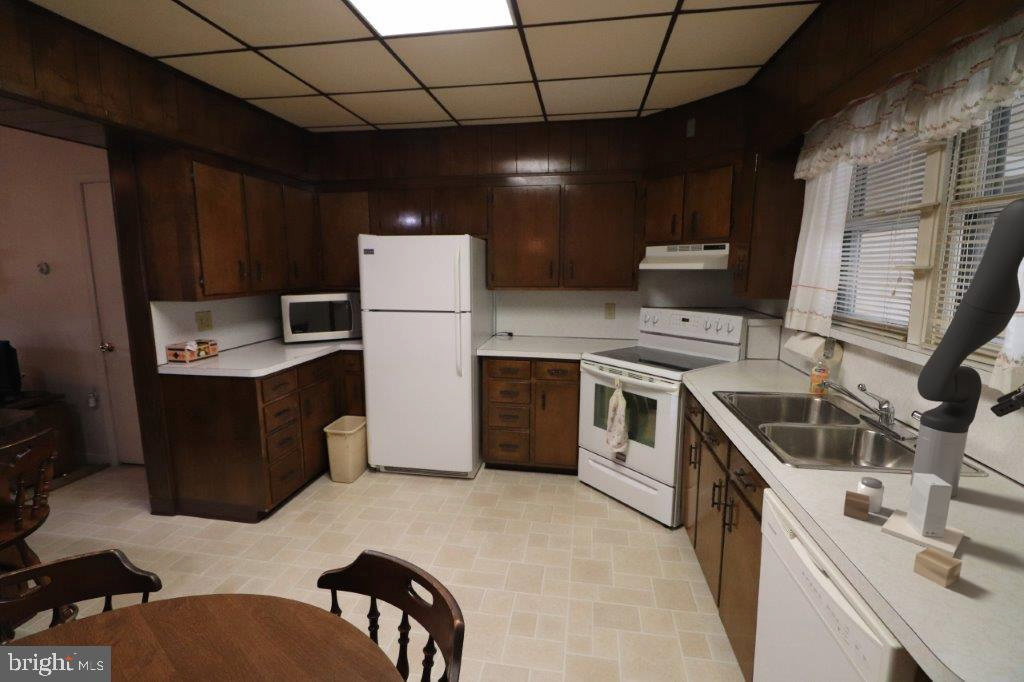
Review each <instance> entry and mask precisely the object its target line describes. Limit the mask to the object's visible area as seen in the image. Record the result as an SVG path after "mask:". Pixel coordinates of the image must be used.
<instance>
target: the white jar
mask: <svg viewBox="0 0 1024 682" xmlns="http://www.w3.org/2000/svg"><path fill="white" fill-rule="evenodd" d="M856 493H859V494H863V495H868V496H869V502H870V504H869V511H868V513H873V514H878V513H881V511H882V505H883V499H884V493H885V486H884V485H883V481H882V480H879V479H878V478H875V477H869V476H864V477H863V476H862V477H861V479H860V480H859V481H858V485H857V491H856Z"/></svg>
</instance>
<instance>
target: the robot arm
mask: <svg viewBox="0 0 1024 682" xmlns="http://www.w3.org/2000/svg"><path fill="white" fill-rule="evenodd" d="M1023 260H1024V197H1022V198H1017V199H1015V200H1013V201H1010V202H1009V203H1008V204H1007V205H1005V206H1004V208H1003V209H1002V210H1001V211H1000V212H999V214H998V215H997V217H996V219H995V222H994V225H993V227H992V230H991V232H990V235H989V238H988V241H987V244H986V247H985V249H984V252H983V255H982V257H981V260H980V261H979V262H980V263H979V265H978V267H977V268H976V271H975V273H974V275H973V278H972V279H971V282H970V284H969V286H968V287H967V289H966V291H965V293H964V295H963V297H962V299H961V300H960V302H959V304H958V306H957V309H955V310H956V311H955V313H954V314H953V318H952V319H951V321H950V323H949V325H948V327H947V329H946V331H945V332H944V334H943V336H942V338H941V340H940V342H939V344H938V345H937V347H936V348H935V350H934V351H933V352H932V354H931V355H930V357H929V359H927V361H926V363H925V364H924V366H923V367H922V369H921V371H920V373H919V375H918V378H917V383H916V386H917V391H918V394H919V395H920V397H921V398H923V399H924V400H926V401H930V402H937V403H940V405H938V406H936V407H934V408H931V409H928V410H925V411H924V412H922V414H921V415H920V421H919V426H918V427H919V428H918V433H917V434H918V435H917V439H916V447H915V452H914V453H915V454H914V458H913V465H912V471H911V475H910V477H911V478H910V486H912V482H913V476H914V473H924V474H934V475H936V476H937V477H939V478H940V479H942V480H943V481H945V482H947V483H948V484H950V485H951V486H952V493H951V498H954V497H956V496H957V494H958V489H959V483H960V480H961V479H960V478H961V474H962V473H961V472H962V468H963V467H962V466H963V463H964V462H963V461H964V456H965V450H966V447H967V445H966V444H967V441H968V440H967V439H968V433H969V428H970V426H971V424H972V423H973V422H974V420H975V418H976V413H977V409H978V406H979V402H980V398H981V394H982V388H983V386H982V384H983V383H982V379H981V376H980V374H979V372H978V371H977V370H976V369H975V368H973V367H971V366H967V365H962V364H963V363H964V361H965V360H967V358H968V357H969V356H970V355H971V354H973V353H974V352H976V351H977V350H979V349H980V348H981V347H983V346H985V345H986V344H988V343H989V342H991V341H993V340H994V339H995V338H997V336H999V335H1000V334H1001V333H1002V332H1004V330H1005V329H1006V328H1007V327H1008V325H1009V324H1010V322H1011V320H1012V318H1013V316H1014V315H1015V313H1016V311H1017V309H1018V308H1019V305H1020V302H1021V288H1020V283H1019V268H1020V266H1021V263H1022V261H1023ZM996 402H997V403H996V404H994V405H992V406H991V407H990V409H989V410H990V411H991V412H992V413H993V414H994V415H995V416H996V417H998V418H1003V417H1005V416H1007V415H1009V414H1011V413H1014V412H1016V411H1019V410H1020V409H1022V410H1023V409H1024V383H1023V384H1022V385H1020V386H1017V388H1016V389H1015V390H1012V391H1010V392H1009V393H1006V394H1004V395H1001V396H999V397H998V398H996Z"/></svg>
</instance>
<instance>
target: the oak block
mask: <svg viewBox="0 0 1024 682" xmlns="http://www.w3.org/2000/svg"><path fill="white" fill-rule="evenodd" d="M962 565H963V562H962V561H961V560H959V559H958V558H957V559H956V558H954V556H953V557H951V556H948V555H946V554H944V553H942V552H940V551H938V550H935V549H933V548H931V547H930V548H926V549H924V550H922V551H920V552H918V553H916V554H915V559H914V566H913V570H912V571H913V573H915V574H917V575H919V576H921V577H923V578H925V579H927V580H929V581H931V582H933V583H935V584H936V585H939V587H942V588H947V587H949V586H950V585H952V584H954V583H956V582H959V581H960V576H961V575H960V574H961V571H962V570H961V569H962Z"/></svg>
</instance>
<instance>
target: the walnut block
mask: <svg viewBox="0 0 1024 682" xmlns="http://www.w3.org/2000/svg"><path fill="white" fill-rule="evenodd" d="M869 504H870V502H869V496H868V495H863V494H859V493H857V492H854V491H850V490H846V491H845V499H844V505H843V516H845V517H848V518H853V519H857V520H859V521H864V522H867V521H868V517H869V512H868V511H869Z"/></svg>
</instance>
